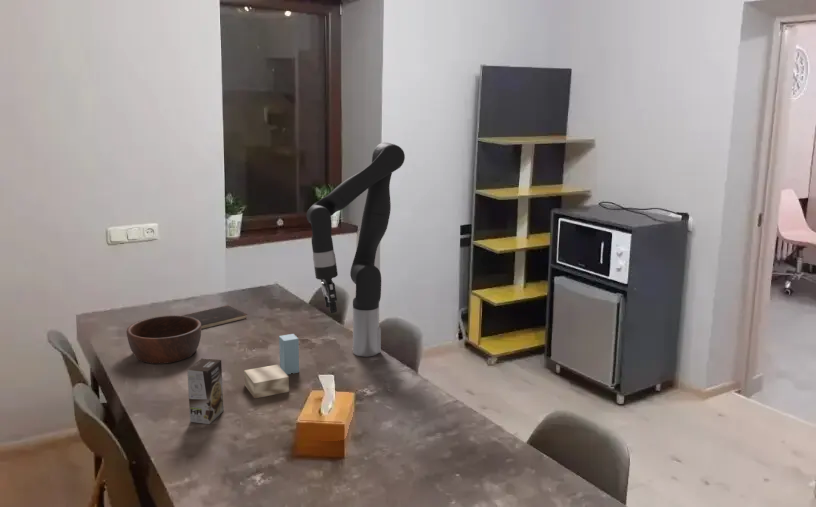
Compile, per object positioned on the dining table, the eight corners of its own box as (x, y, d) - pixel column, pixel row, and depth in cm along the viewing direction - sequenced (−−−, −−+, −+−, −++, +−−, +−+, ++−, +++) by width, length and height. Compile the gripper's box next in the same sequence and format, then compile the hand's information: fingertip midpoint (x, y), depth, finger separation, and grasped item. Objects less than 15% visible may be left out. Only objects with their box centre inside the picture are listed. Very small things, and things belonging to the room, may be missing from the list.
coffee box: (210, 424, 199) (207, 371, 196) (189, 422, 201) (186, 369, 197) (224, 410, 208) (222, 359, 204) (204, 408, 209) (201, 357, 206)
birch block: (277, 378, 231) (277, 364, 230) (288, 391, 221) (288, 376, 220) (244, 384, 226) (244, 370, 225) (254, 398, 216) (253, 383, 215)
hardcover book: (247, 319, 289) (247, 314, 288) (195, 332, 274) (194, 326, 273) (227, 310, 300) (227, 304, 300) (176, 321, 285) (175, 316, 284)
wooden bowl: (201, 338, 266) (199, 312, 264) (204, 363, 243) (203, 334, 240) (130, 345, 258) (128, 318, 256) (126, 371, 235) (124, 342, 233)
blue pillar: (294, 367, 240) (293, 333, 238) (299, 372, 236) (298, 338, 233) (280, 369, 238) (279, 336, 235) (284, 374, 234) (283, 340, 231)
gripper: (339, 265, 234) (346, 312, 237) (332, 258, 247) (338, 303, 250) (317, 269, 232) (324, 316, 235) (310, 262, 245) (317, 306, 248)
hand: (331, 309), depth 243 cm, fingers open, 8 cm apart
